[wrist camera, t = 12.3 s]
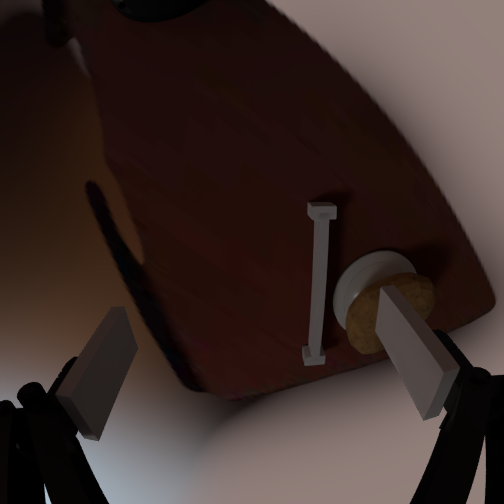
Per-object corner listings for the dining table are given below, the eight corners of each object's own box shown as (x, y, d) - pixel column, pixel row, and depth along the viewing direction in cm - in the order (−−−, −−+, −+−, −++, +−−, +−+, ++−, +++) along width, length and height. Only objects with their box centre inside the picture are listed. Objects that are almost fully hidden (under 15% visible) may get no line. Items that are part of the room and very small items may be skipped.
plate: (335, 251, 41) (337, 254, 40) (422, 248, 41) (425, 250, 40) (328, 337, 46) (329, 341, 45) (407, 328, 46) (409, 331, 45)
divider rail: (307, 202, 39) (312, 206, 36) (330, 201, 39) (336, 206, 36) (302, 353, 46) (304, 365, 44) (320, 352, 46) (324, 364, 44)
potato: (426, 294, 42) (452, 319, 35) (352, 342, 45) (368, 375, 37) (407, 245, 40) (435, 265, 32) (325, 298, 42) (339, 329, 35)
